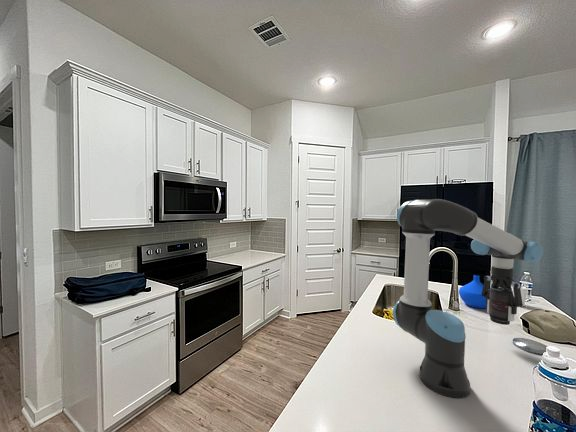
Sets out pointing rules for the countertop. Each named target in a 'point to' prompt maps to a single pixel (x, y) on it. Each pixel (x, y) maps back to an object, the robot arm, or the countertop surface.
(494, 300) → the camera lens
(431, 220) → the robot arm
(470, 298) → the vase
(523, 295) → the cup
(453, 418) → the countertop surface
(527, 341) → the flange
